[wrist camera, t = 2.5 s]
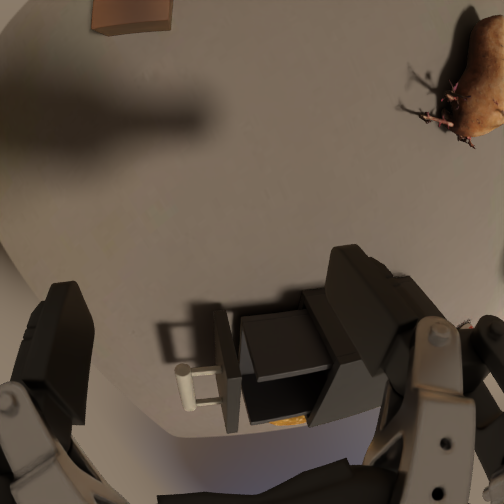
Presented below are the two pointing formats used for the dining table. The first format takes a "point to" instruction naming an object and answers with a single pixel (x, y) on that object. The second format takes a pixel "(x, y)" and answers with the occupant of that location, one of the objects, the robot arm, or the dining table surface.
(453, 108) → the vegetable
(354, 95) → the dining table surface
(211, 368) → the drawer
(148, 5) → the block
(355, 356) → the cabinet
